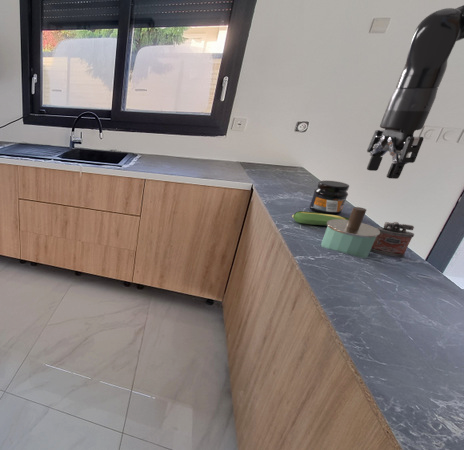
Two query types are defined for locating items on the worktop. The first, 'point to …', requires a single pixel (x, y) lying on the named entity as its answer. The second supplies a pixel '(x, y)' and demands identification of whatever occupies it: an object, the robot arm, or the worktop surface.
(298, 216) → the edible corn
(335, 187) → the supplement container
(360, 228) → the lid
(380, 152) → the robot arm
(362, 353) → the worktop surface
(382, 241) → the lighter
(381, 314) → the worktop surface
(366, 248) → the green faceted pot
